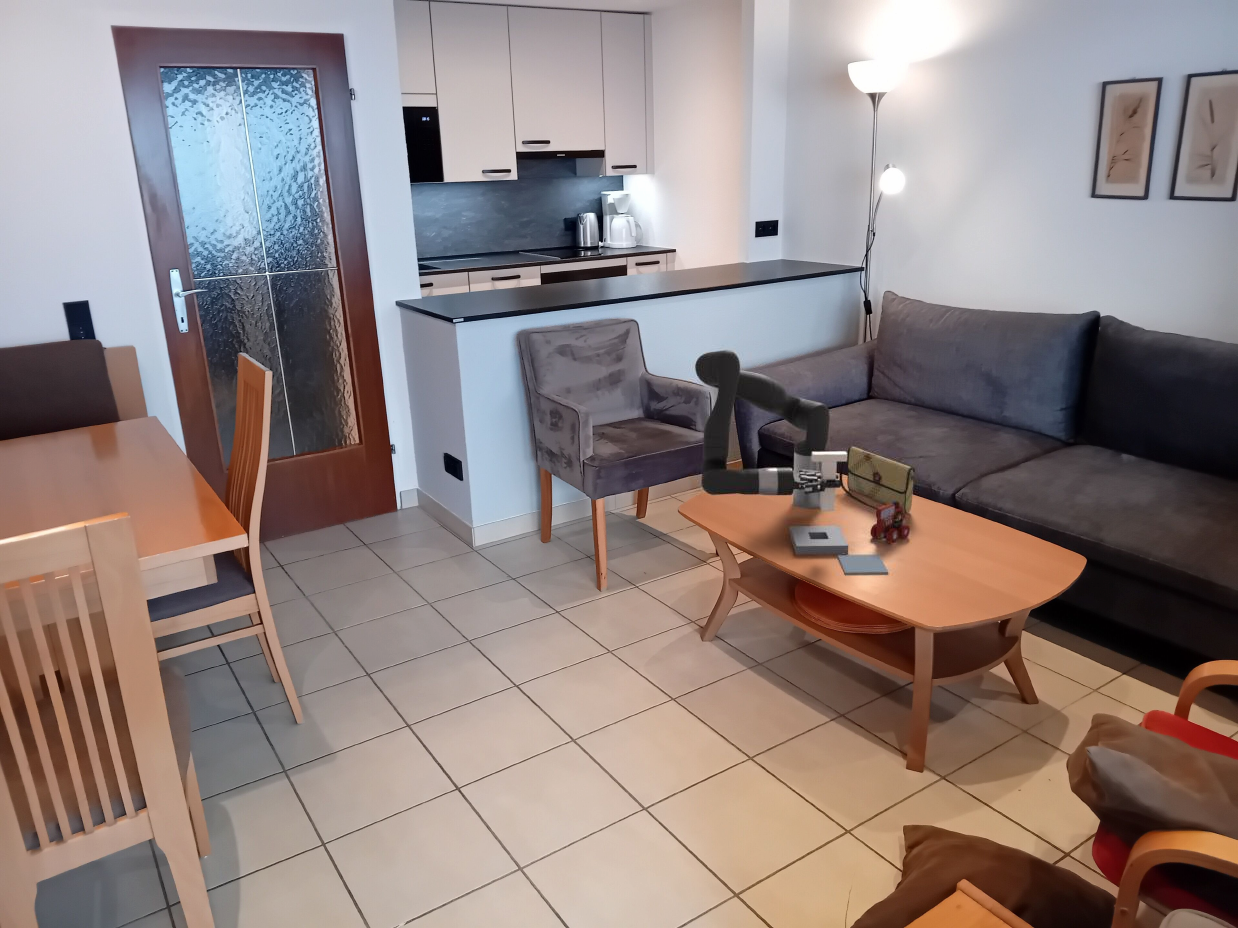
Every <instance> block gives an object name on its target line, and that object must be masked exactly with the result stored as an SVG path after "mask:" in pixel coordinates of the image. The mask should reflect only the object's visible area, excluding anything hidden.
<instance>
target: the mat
mask: <svg viewBox="0 0 1238 928" xmlns="http://www.w3.org/2000/svg"><path fill="white" fill-rule="evenodd" d="M837 558H838V562H839V563H840V565H841V568H842V571H843V573H844V574H845V575H887V574H888V575H889V571H888V568H887V567H886V565H885V563H884V561H883V560H882V558H881V556H880V554H875V553H874V554H837Z"/></svg>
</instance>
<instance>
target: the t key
mask: <svg viewBox="0 0 1238 928" xmlns="http://www.w3.org/2000/svg"><path fill="white" fill-rule="evenodd" d="M847 453H848V452H847V451H825V452H812V461H813V462H822V467H821V479H826V480H827V479H836V474H837V464H838V462H843V461H846V462H847ZM835 502H836V488H826V489H825V491H823V492H820V507H819V508H820V511H821V512H835V508H836V507H835V504H836V503H835Z"/></svg>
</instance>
